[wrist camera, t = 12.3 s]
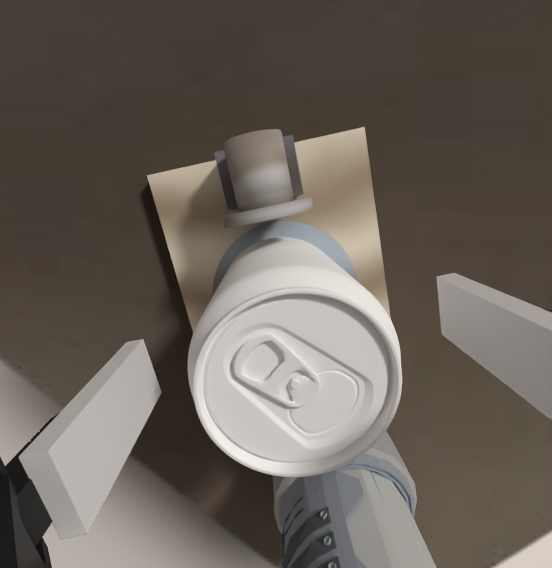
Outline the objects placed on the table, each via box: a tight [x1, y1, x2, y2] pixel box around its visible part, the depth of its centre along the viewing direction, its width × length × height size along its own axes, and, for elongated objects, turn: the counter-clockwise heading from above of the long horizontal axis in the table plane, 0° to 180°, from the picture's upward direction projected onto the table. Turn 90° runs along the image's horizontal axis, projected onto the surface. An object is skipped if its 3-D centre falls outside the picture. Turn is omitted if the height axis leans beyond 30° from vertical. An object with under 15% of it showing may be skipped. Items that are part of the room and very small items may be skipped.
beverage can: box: [188, 237, 402, 477], centre depth 17 cm, size 8×8×12 cm
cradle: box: [147, 127, 391, 333], centre depth 20 cm, size 19×14×8 cm
